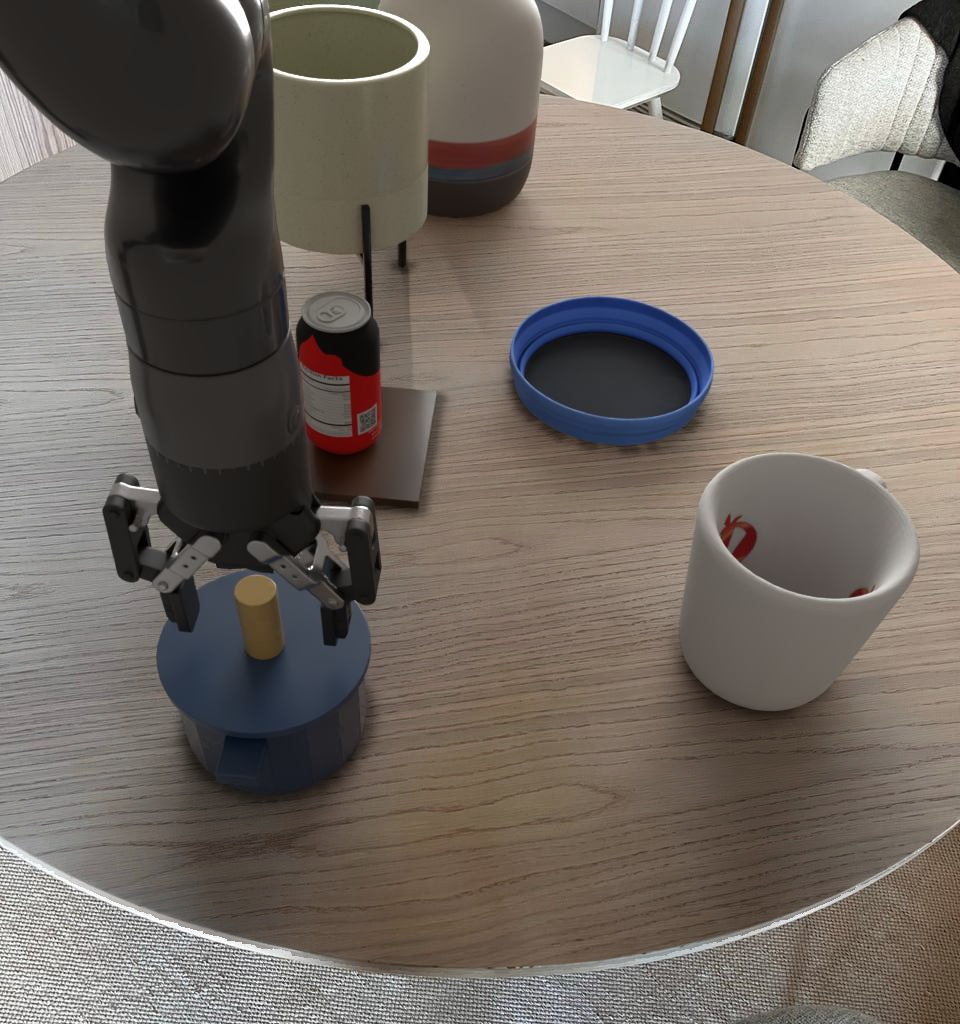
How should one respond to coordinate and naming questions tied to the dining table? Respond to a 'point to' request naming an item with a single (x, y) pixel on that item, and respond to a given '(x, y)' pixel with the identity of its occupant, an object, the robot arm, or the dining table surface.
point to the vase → (478, 99)
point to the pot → (281, 751)
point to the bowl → (610, 369)
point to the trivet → (382, 455)
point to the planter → (349, 130)
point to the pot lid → (260, 659)
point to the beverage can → (340, 371)
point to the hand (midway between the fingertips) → (261, 627)
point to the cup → (790, 576)
